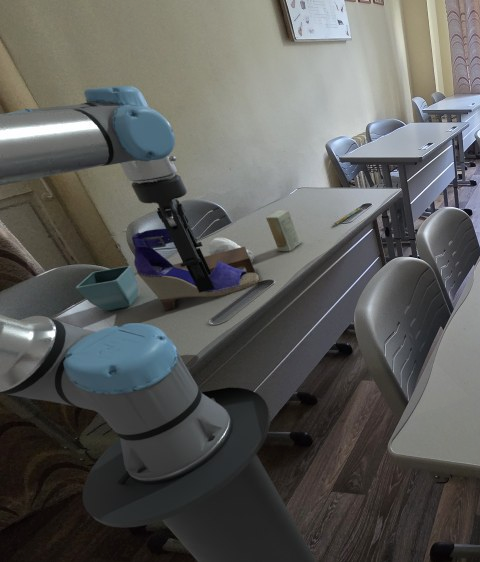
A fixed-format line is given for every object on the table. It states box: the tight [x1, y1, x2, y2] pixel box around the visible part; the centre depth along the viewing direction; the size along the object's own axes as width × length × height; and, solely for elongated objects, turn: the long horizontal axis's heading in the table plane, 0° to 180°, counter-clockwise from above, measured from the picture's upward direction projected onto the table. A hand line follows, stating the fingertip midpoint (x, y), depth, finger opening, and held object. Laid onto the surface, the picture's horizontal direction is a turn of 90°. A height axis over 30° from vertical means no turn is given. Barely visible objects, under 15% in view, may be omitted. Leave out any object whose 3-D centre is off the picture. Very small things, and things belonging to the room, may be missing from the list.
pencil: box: [332, 207, 361, 227], centre depth 155 cm, size 1×1×18 cm
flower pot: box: [75, 265, 139, 312], centre depth 105 cm, size 9×9×9 cm
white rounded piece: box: [208, 237, 255, 264], centre depth 124 cm, size 6×8×12 cm
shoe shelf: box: [160, 246, 260, 311], centre depth 111 cm, size 22×10×8 cm, turn 126°
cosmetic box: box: [265, 209, 301, 252], centre depth 131 cm, size 6×4×12 cm
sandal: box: [131, 228, 260, 303], centre depth 84 cm, size 8×20×15 cm, turn 103°
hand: (205, 282), depth 86 cm, fingers closed on sandal, 7 cm apart
